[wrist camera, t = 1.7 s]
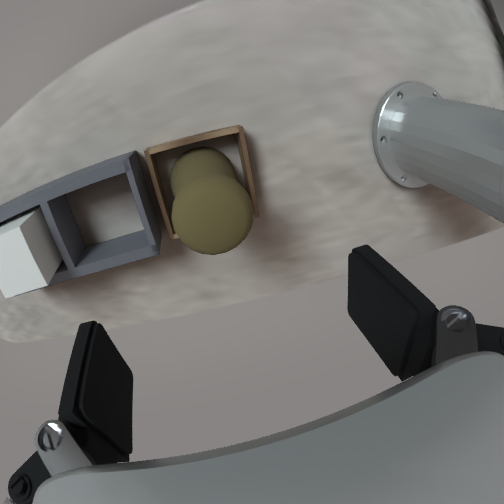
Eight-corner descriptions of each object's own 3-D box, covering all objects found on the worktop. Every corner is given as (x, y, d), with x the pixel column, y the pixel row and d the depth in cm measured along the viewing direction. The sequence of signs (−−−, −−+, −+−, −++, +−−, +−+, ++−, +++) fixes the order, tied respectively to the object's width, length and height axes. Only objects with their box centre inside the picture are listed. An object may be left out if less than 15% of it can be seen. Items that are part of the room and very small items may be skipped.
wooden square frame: (238, 125, 25) (242, 126, 24) (254, 209, 30) (259, 216, 28) (146, 148, 24) (144, 151, 23) (170, 231, 29) (170, 240, 27)
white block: (50, 198, 24) (19, 226, 18) (70, 247, 27) (47, 285, 21) (11, 215, 23) (-22, 245, 17) (31, 261, 26) (5, 298, 20)
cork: (196, 222, 29) (205, 286, 19) (156, 174, 26) (142, 218, 16) (247, 184, 28) (283, 232, 19) (210, 133, 25) (228, 152, 16)
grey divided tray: (135, 150, 24) (128, 158, 21) (161, 234, 29) (159, 255, 25) (-4, 207, 22) (-23, 223, 19) (27, 276, 27) (13, 297, 23)
